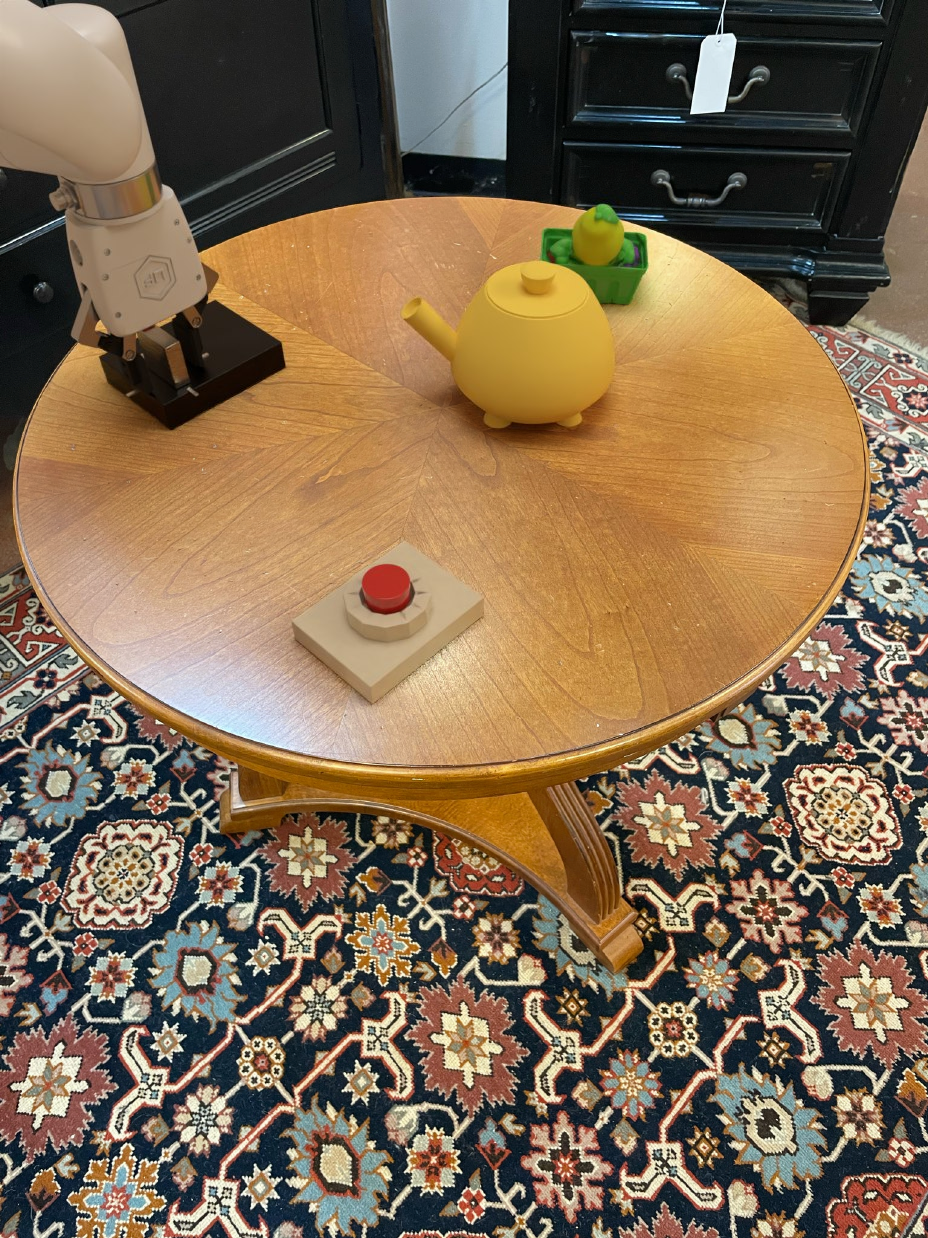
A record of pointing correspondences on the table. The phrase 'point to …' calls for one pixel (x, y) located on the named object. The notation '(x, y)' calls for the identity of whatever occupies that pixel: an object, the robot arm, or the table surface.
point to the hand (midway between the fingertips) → (167, 371)
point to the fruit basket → (599, 254)
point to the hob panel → (206, 367)
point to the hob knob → (164, 356)
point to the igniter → (388, 624)
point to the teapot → (526, 345)
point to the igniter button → (386, 589)
